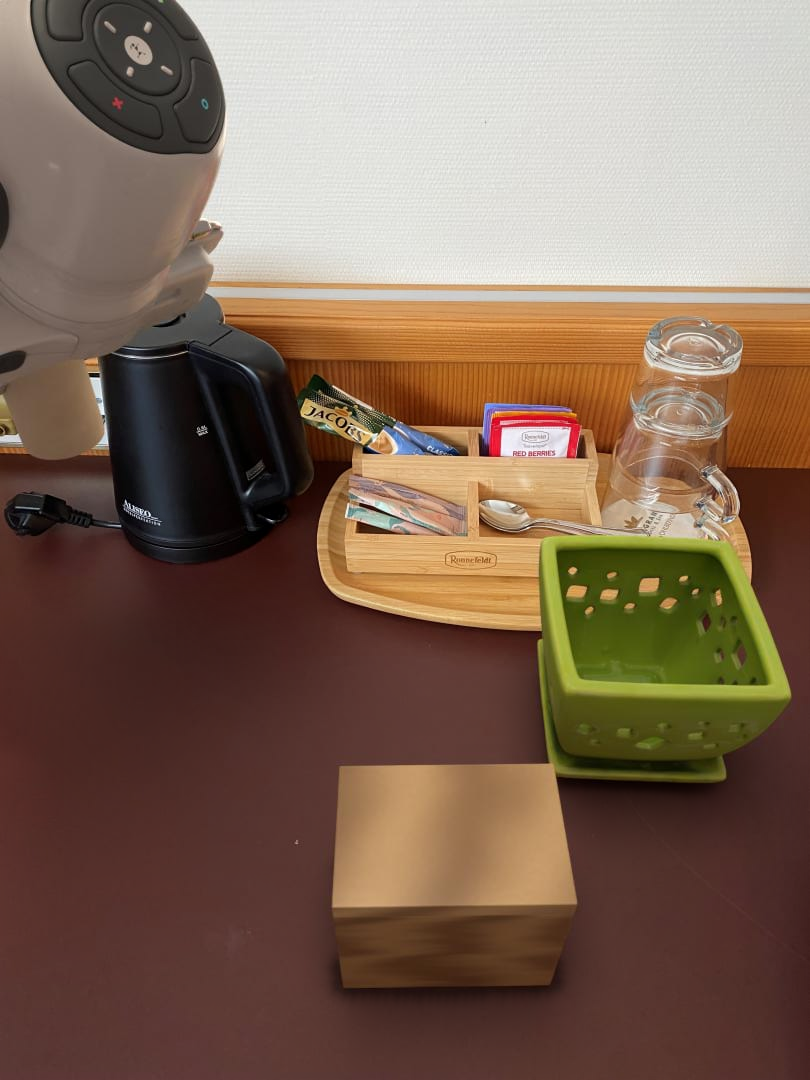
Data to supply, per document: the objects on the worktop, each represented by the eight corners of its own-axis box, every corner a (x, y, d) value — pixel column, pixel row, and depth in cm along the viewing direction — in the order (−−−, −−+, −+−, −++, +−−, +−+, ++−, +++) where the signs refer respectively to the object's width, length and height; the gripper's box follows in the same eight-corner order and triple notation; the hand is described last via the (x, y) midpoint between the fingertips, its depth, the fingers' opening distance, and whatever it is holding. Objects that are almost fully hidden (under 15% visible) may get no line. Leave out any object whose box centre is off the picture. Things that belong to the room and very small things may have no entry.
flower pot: (534, 804, 55) (558, 691, 46) (519, 646, 65) (536, 530, 56) (740, 809, 54) (803, 697, 46) (692, 650, 64) (736, 534, 56)
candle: (7, 443, 55) (-49, 309, 49) (72, 407, 59) (28, 277, 52) (57, 471, 53) (6, 334, 46) (122, 432, 56) (83, 299, 50)
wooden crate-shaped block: (343, 988, 46) (331, 907, 39) (348, 857, 52) (339, 765, 44) (550, 985, 46) (578, 904, 39) (532, 855, 52) (554, 763, 44)
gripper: (202, 164, 46) (146, 276, 58) (-180, 272, 35) (-155, 383, 47) (260, 261, 47) (193, 352, 59) (-97, 396, 36) (-92, 475, 48)
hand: (36, 367), depth 53 cm, fingers closed on candle, 5 cm apart
